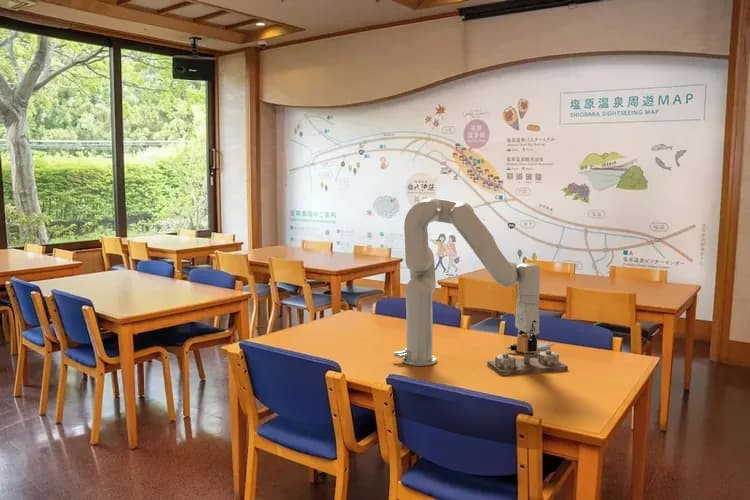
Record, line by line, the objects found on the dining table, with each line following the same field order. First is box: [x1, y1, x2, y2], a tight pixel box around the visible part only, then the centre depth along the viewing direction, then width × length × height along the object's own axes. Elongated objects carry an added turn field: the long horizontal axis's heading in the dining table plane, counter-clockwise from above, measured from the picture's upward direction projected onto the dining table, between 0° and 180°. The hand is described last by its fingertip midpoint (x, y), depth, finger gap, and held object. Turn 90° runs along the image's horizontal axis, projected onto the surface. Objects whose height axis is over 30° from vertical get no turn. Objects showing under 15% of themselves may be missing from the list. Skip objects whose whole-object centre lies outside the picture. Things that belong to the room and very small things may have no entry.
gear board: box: [486, 350, 569, 376], centre depth 218 cm, size 25×12×6 cm, turn 102°
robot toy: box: [506, 341, 555, 358], centre depth 235 cm, size 12×4×15 cm
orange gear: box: [516, 333, 539, 354], centre depth 217 cm, size 7×7×5 cm
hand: (527, 347), depth 218 cm, fingers closed on orange gear, 7 cm apart
